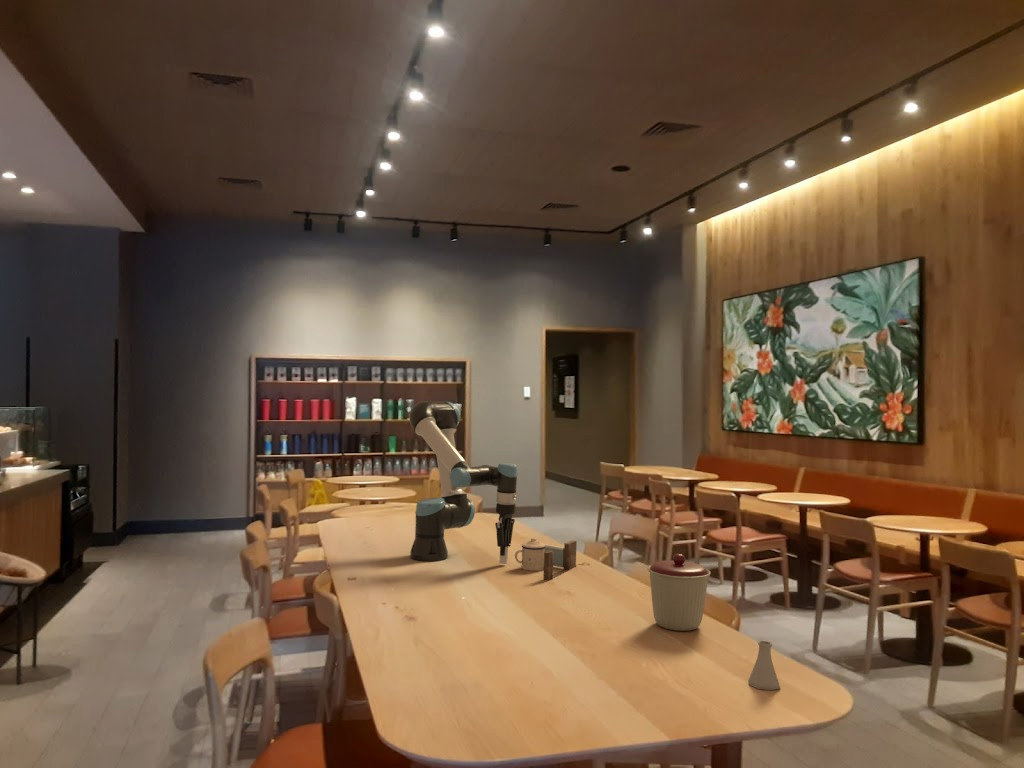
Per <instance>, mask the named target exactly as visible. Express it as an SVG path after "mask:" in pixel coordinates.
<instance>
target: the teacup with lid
mask: <svg viewBox="0 0 1024 768" xmlns="http://www.w3.org/2000/svg"><path fill="white" fill-rule="evenodd" d="M544 544H545V543H542V542H540V541H538V540H537V538H536V537H531V539H530V540H529V541H527V542H524V543H522V545H521V549H519V550H516V551H515V553H514V559H515V561H516V562H517V563H518V564H521V569H523V570H525V571H528V570H529V571H530V572H539V571H544V552H545V545H544ZM519 553H521V560H519V559H518V554H519ZM529 571H528V572H529Z"/></svg>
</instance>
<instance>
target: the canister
mask: <svg viewBox="0 0 1024 768" xmlns="http://www.w3.org/2000/svg"><path fill="white" fill-rule="evenodd" d="M647 571H648V572H649V580H650V593H651V594H650V595H651V604H652V613H653V618H654V621H655V623H656V624H657V625H658V626H659V627H661V628H663V629H667V630H671V631H679V632H681V631H682V632H687V631H689V632H690V631H692V630H696V629H698V628H699V627H700V626H701V624H702V621H703V617H704V616H703V615H704V609H705V604H706V596H707V589H708V580H709V577H710V576H711V571H710V570H709V569H707V568H706V567H705V566H704V565H701V564H699V563H694V562H691V561H686V557H685V555H684V554H682V553H675V554H674V555H673V557H672V560H660V561H657V562H653V563H652V564H651V565H649V566H648V567H647Z"/></svg>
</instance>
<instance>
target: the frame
mask: <svg viewBox="0 0 1024 768" xmlns="http://www.w3.org/2000/svg"><path fill="white" fill-rule="evenodd" d="M576 567H577V540H569V541H567V542H564V568H563V569H562V570H559V571H558V572H555V573H553V571H554V566H553V551H547V552H544V569H543V577H542V578H543V581H551V580H553V579H555V578H557V577H559V576H561V575H563V574H565V573H566V572H569V571H570V570H572V569H573V568H576ZM564 572H565V573H564ZM562 573H563V574H562Z"/></svg>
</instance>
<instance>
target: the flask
mask: <svg viewBox="0 0 1024 768" xmlns="http://www.w3.org/2000/svg"><path fill="white" fill-rule="evenodd" d="M757 644H758V645H757V646H758V652H757V657H756V659H755V663H754V665H753V668H752V670H751V673H750V674H749V677H748V685H750V686H752V687H754V688H755V689H758V690H765V691H773V690H778V689H779V690H780V689H781V686H780V683H779V680H778V677H777V673H776V670H775V667H774V663H773V658H772V654H771V653H772V652H771V651H772V647H773V643H772V642H771V641H769V640H764V639H763V640H758V641H757Z"/></svg>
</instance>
